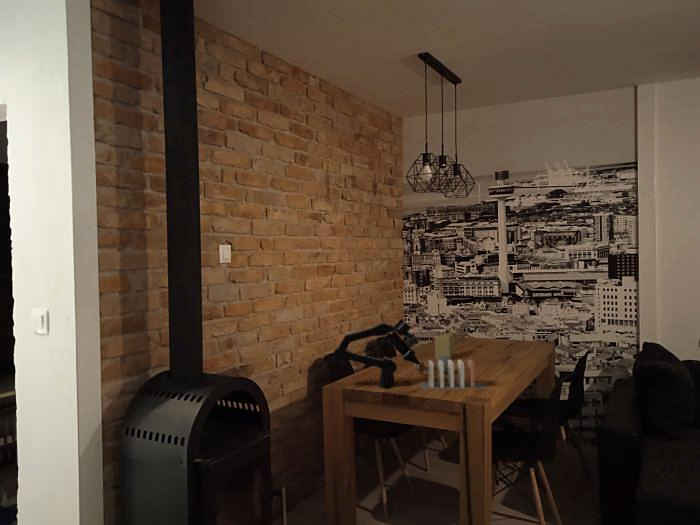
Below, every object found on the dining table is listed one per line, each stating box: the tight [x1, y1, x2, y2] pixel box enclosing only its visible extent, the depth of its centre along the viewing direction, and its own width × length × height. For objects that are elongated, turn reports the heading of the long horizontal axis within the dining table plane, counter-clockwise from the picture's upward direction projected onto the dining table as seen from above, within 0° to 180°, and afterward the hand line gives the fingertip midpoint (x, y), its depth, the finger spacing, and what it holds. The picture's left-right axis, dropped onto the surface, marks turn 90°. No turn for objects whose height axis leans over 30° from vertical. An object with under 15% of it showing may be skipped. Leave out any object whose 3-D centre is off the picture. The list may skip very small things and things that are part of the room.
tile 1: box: [427, 359, 435, 388], centre depth 286 cm, size 2×10×12 cm, turn 179°
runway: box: [419, 381, 488, 390], centre depth 285 cm, size 32×13×1 cm, turn 89°
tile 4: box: [457, 359, 465, 388], centre depth 285 cm, size 2×10×12 cm, turn 179°
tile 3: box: [447, 360, 455, 388], centre depth 285 cm, size 2×10×12 cm, turn 179°
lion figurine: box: [413, 359, 438, 377], centre depth 311 cm, size 15×5×9 cm, turn 115°
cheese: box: [434, 331, 456, 360], centre depth 365 cm, size 22×10×15 cm, turn 151°
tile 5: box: [467, 359, 476, 388], centre depth 285 cm, size 2×10×12 cm, turn 179°
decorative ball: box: [435, 355, 455, 375], centre depth 316 cm, size 10×10×10 cm
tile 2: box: [437, 360, 445, 388], centre depth 285 cm, size 2×10×12 cm, turn 179°
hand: (419, 364), depth 286 cm, fingers closed
